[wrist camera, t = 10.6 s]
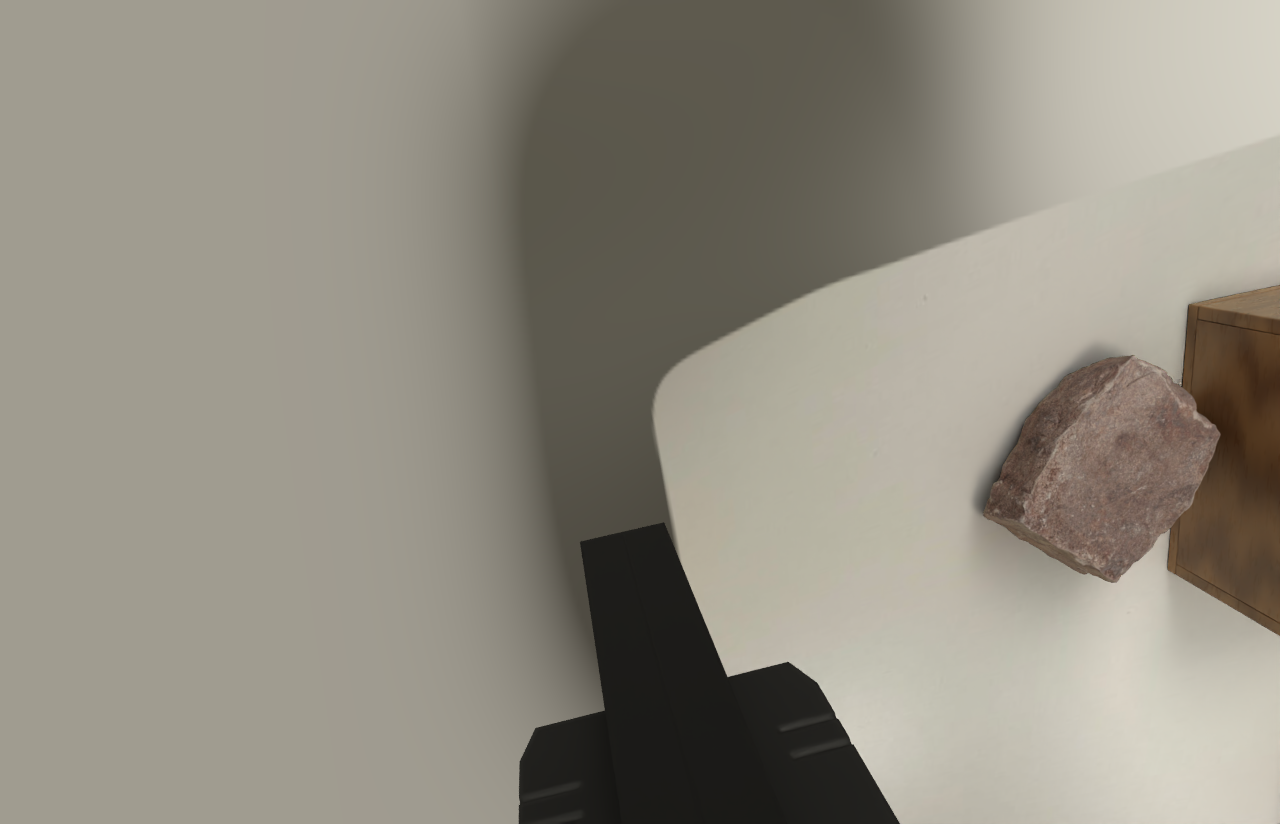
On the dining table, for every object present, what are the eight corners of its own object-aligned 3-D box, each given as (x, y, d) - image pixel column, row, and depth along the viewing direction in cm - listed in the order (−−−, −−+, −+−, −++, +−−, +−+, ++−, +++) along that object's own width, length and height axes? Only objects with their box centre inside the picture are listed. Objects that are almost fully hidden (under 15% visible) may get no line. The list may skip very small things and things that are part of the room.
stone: (1085, 328, 40) (1157, 346, 35) (1182, 405, 42) (1260, 431, 38) (957, 498, 42) (1010, 535, 37) (1057, 561, 44) (1117, 603, 40)
